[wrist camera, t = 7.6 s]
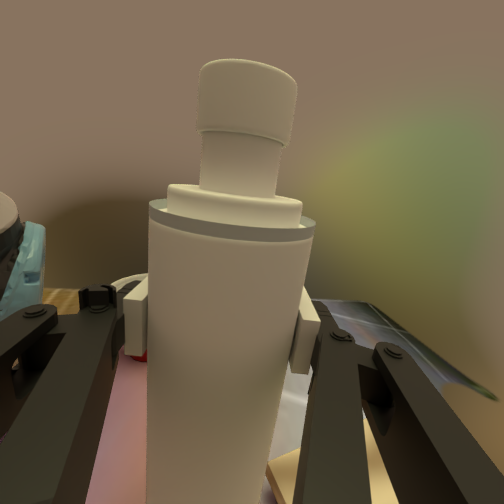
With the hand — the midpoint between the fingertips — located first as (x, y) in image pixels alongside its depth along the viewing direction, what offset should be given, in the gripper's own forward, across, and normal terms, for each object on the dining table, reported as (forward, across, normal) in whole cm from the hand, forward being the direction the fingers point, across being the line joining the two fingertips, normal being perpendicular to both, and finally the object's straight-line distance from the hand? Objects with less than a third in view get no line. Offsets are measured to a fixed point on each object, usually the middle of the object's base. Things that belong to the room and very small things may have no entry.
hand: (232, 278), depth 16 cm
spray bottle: (-5, 0, -14) cm, 15 cm away
